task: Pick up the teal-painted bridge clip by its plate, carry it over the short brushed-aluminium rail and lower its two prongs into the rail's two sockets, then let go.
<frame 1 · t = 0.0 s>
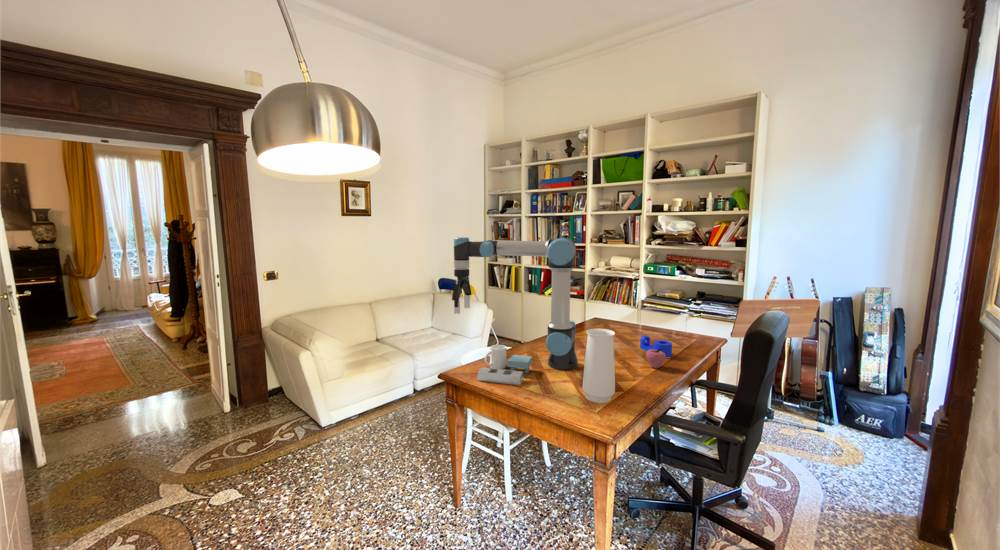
hand: (462, 310, 200), 28 cm above the table, fingers open, 13 cm apart
apple: (655, 367, 200), on the table
clip: (519, 371, 194), on the table
mug: (495, 368, 199), on the table
vase: (598, 398, 165), on the table
bracket: (654, 353, 222), on the table
rail: (500, 380, 183), on the table
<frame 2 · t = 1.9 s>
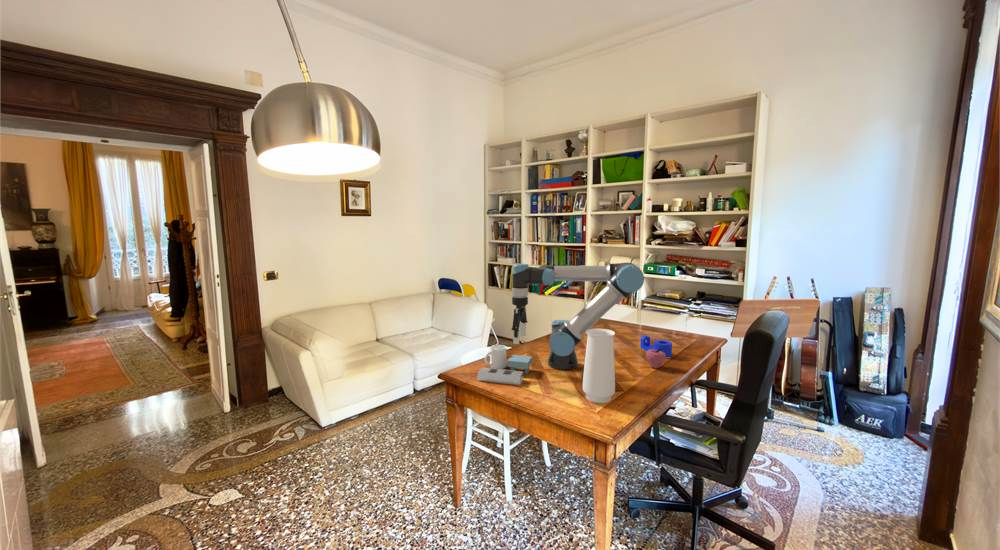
hand: (519, 339, 192), 16 cm above the table, fingers open, 13 cm apart
nothing on the table moved.
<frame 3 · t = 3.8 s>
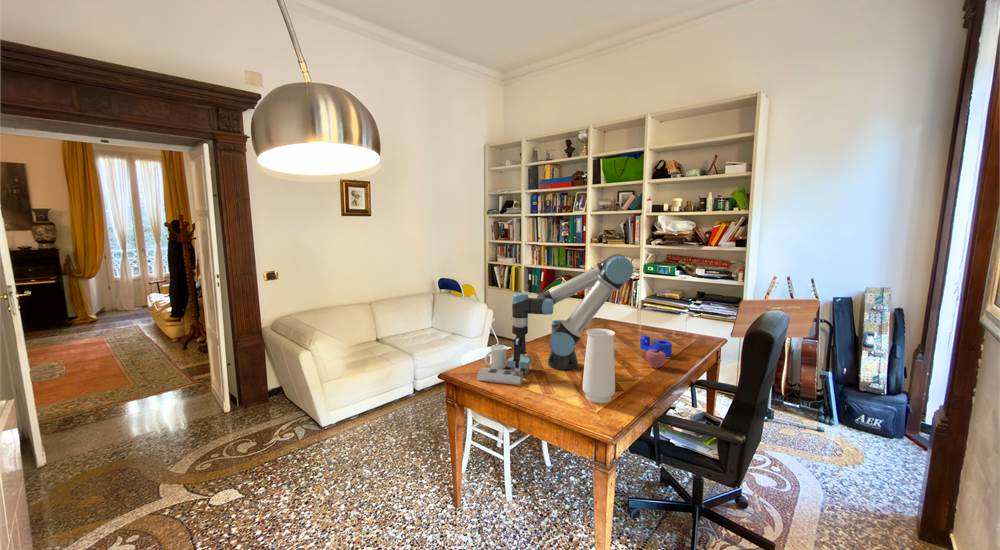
hand: (519, 370, 194), 0 cm above the table, fingers closed on clip, 9 cm apart
clip: (519, 371, 194), on the table, touching gripper
everything else where it was.
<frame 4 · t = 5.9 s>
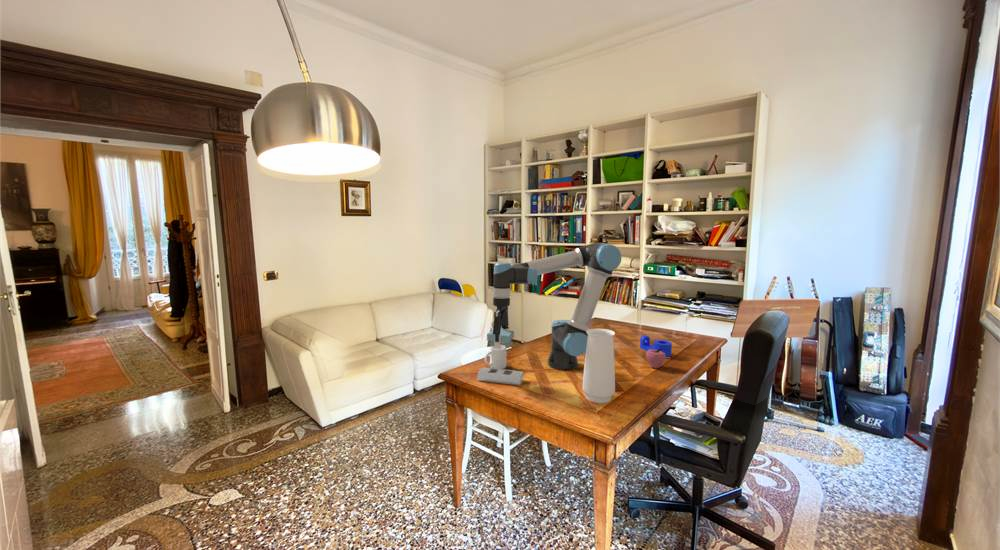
hand: (500, 345, 182), 16 cm above the table, fingers closed on clip, 9 cm apart
clip: (500, 346, 182), point 16 cm above the table, touching gripper
everything else where it was.
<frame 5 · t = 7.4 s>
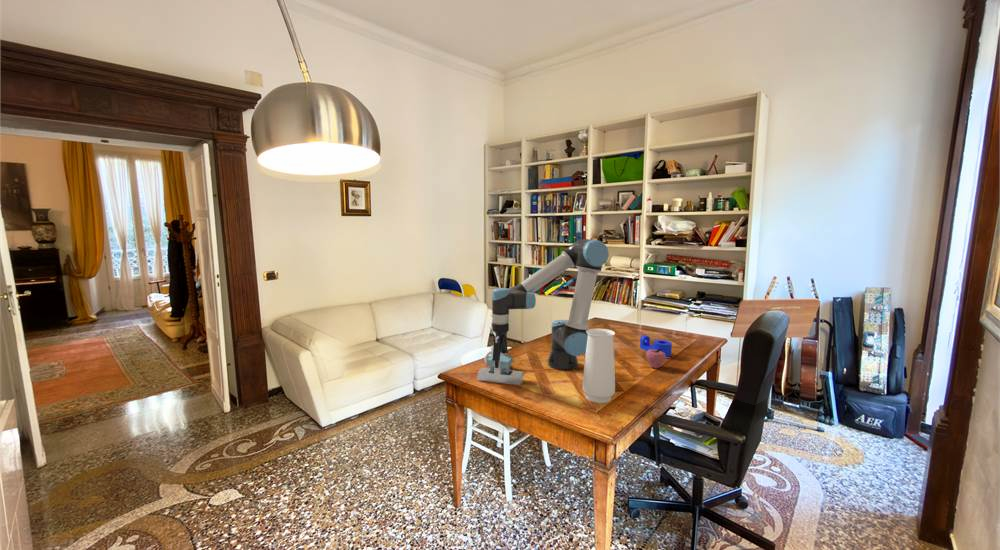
hand: (500, 370, 183), 5 cm above the table, fingers closed on clip, 9 cm apart
clip: (500, 371, 183), point 4 cm above the table, touching gripper
everything else where it was.
when the fingers open (2 cm above the table, at t = 8.4 s): clip stays where it is, resting on rail.
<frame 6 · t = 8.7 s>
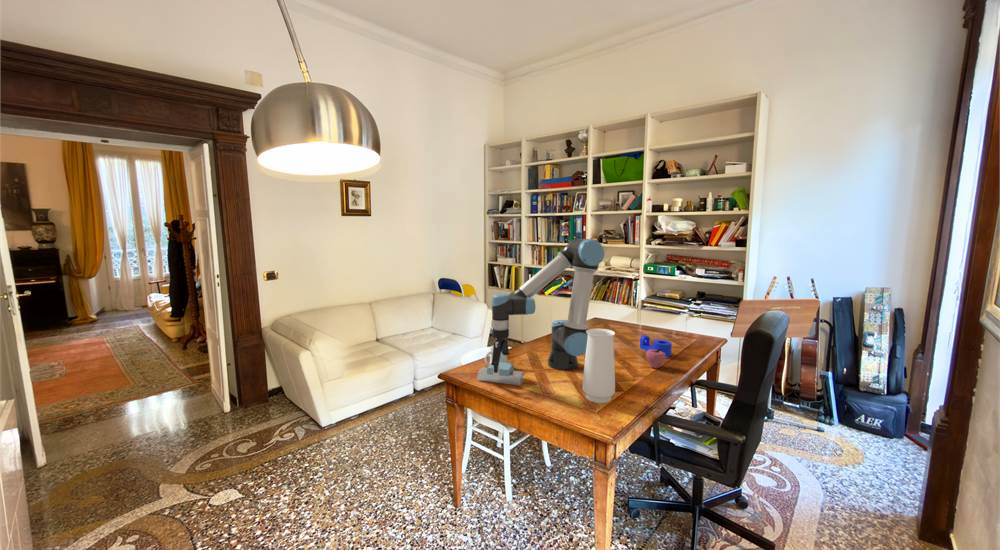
hand: (500, 373, 183), 3 cm above the table, fingers open, 13 cm apart
clip: (500, 379, 183), resting on rail
everything else where it was.
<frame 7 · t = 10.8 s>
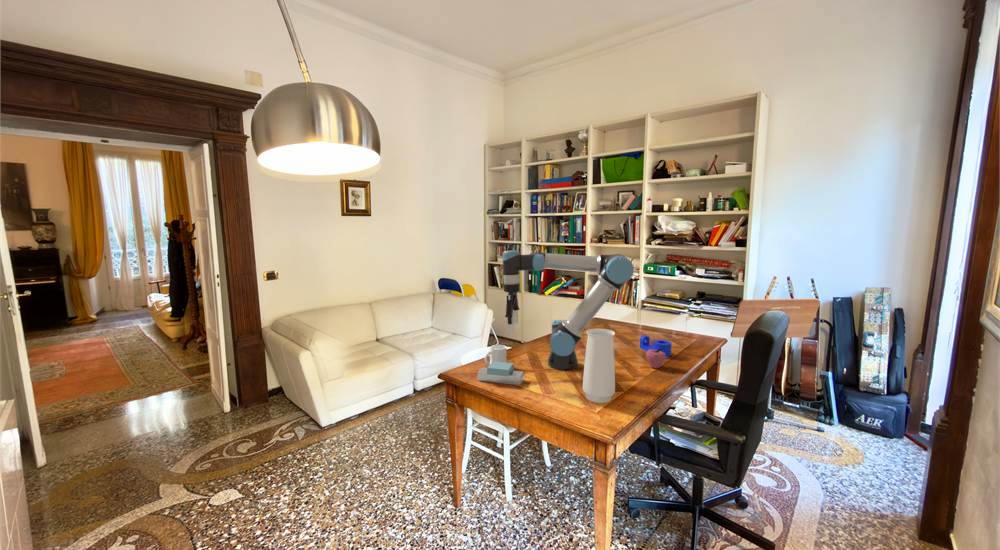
hand: (513, 326, 192), 22 cm above the table, fingers open, 13 cm apart
nothing on the table moved.
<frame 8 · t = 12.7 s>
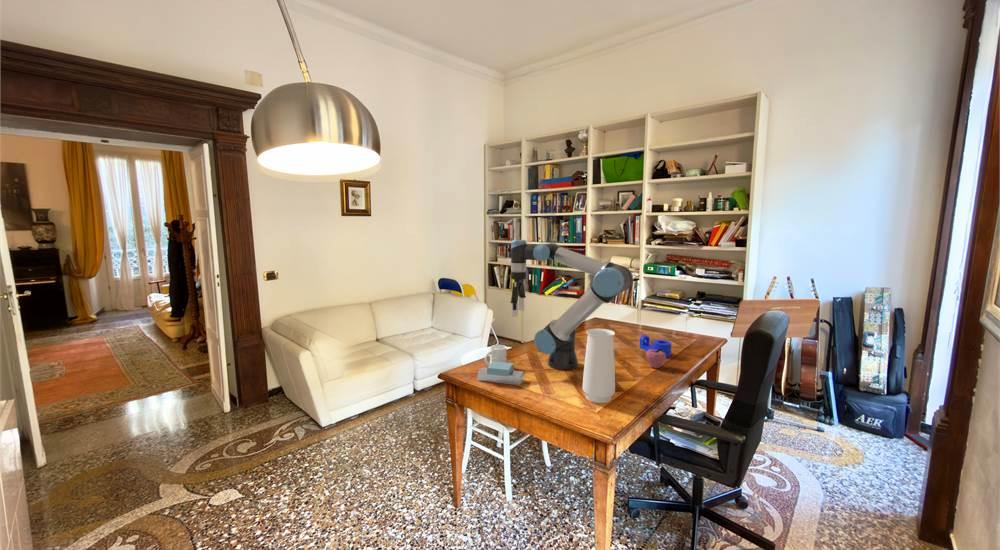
hand: (518, 313, 200), 27 cm above the table, fingers open, 13 cm apart
nothing on the table moved.
at the end: clip 0.1 cm off-centre on the rail, point 0.5 cm above the rail's base; clip tilted 0°; the gripper is holding nothing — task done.
